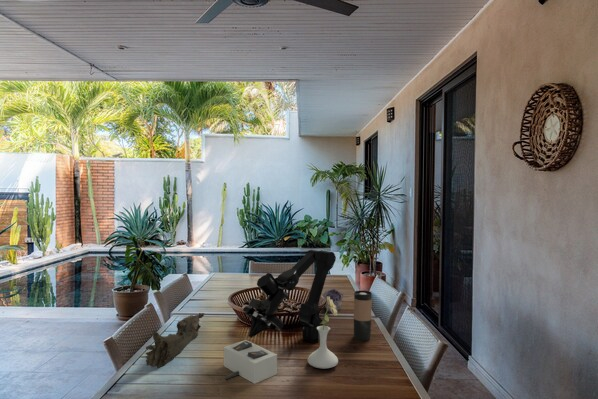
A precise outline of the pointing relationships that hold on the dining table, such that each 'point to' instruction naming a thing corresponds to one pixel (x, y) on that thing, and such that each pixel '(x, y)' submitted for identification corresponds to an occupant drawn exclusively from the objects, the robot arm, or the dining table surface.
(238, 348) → the rocker
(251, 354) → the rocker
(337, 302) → the geode
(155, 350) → the driftwood
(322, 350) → the flower in vase
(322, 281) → the robot arm
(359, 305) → the travel mug
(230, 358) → the box
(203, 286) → the dining table surface
